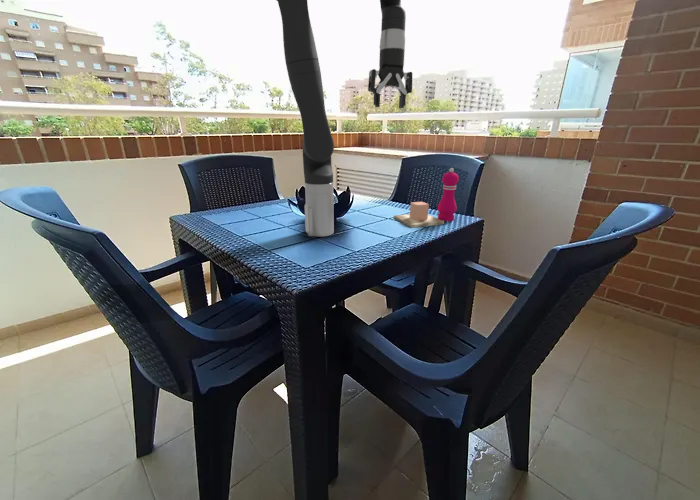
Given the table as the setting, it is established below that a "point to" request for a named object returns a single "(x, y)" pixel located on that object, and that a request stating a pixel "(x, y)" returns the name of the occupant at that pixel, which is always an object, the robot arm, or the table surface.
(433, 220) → the birch board
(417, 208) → the terracotta block
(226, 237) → the table surface
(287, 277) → the table surface
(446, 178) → the pepper mill
